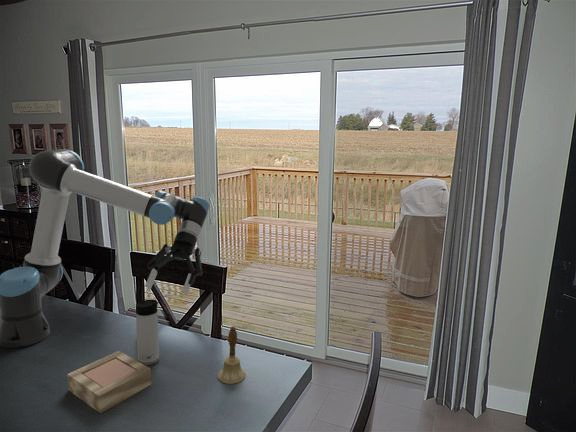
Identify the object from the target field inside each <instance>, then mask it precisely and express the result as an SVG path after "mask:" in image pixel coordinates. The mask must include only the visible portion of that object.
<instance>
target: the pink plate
mask: <svg viewBox="0 0 576 432" xmlns="http://www.w3.org/2000/svg"><path fill="white" fill-rule="evenodd" d="M134 371H136V370H135V369H133V368H131V367H129V366H128V365H126V364H124V363H123V362H121V361H119V360H117V359H114V360H111V361H109V362H107V363H105V364H103V365H101V366H99V367H97V368H95V369H92V370H90V371H88V372H86V373H84V374H83V375H85V376H86V377H88V378H89V379H91V380H92V381H94V382H95V383H97V384H98V385H100V386H101V387H105V386H107V385H109V384H111V383H113V382H115V381H117V380H119V379H121V378H123V377H124V376H126V375H128V374H130V373H132V372H134Z"/></svg>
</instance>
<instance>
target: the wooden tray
mask: <svg viewBox="0 0 576 432" xmlns="http://www.w3.org/2000/svg"><path fill="white" fill-rule="evenodd" d="M114 359H117V360H119V361H121V362H123V363H124V364H126V365H128V366H129V367H131V368H133V369H135V370H136V371H134V372H132V373H130V374H128V375H126V376H124V377H123V378H121V379H119V380H117V381H115V382H113V383H111V384H109V385H107V386H105V387H101V386H100V385H98V384H97V383H95V382H94V381H92V380H91V379H89V378H88V377H86V376H85V375H83V374H84V373H86V372H88V371H90V370H92V369H95V368H97V367H99V366H101V365H103V364H105V363H107V362H109V361H111V360H114ZM67 385H68V391H69V392H70V393H72V394H73V395H75V396H76V397H77V398H78V399H80V400H82V401H83V402H84V403H85V404H87V405H88V406H89V407H91V408H92V409H93V410H95V411H96V412H97V413H99V414H100V415H101V414H102V413H104V412H106V411H108V410H109V409H111V408H113V407H115V406H116V405H118V404H120V403H122V402H124V401H125V400H127V399H128V398H130V397H133V395H135V394H138V393H139V392H141V391H143V390H144V389H146V388H147V387H149V386H151V385H152V368H150V367H149V366H145V365H143V364H142V363H140V362H138V360H136V359H134V358H133V357H131V356H129V355H127V354H126V353H123V352H122V351H120V350H117V351H115V352H113V353H111V354H108V355H106V356H104V357H101V358H100V359H97V360H95V361H93V362H91V363H89V364H87V365H85V366H82V367H80V368H78V369H76V370H74V371H71V372H69V373H67Z"/></svg>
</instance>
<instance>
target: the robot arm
mask: <svg viewBox="0 0 576 432" xmlns="http://www.w3.org/2000/svg"><path fill="white" fill-rule="evenodd" d="M28 170H29V174H30V176H31V178H32V179H33V180H34V181H35V182H36V183H37V184H38V186H39V188H41V195H40V200H39V206H38V211H37V218H36V223H35V228H34V232H33V239H32V243H31V244H32V245H31V250H30V252H29V253H27V254H26V255H25V256H24V259H23V264H22V266H19V267H14V268H12V269H8V270H5V271H4V272H3V273H1V274H0V318H1V320H0V347H2V348H6V349H17V348H25V347H28V346H32V345H35V344H37V343H40V342H41V341H43V340H45V339H46V338H47V337H48V336H50V333H51V331H50V324H49V322H48V321H47V319H46V316H45V315H44V313H43V306H42V297H44V296H45V295H46V294H47V293H49V292H50V291H52V290H53V289H54V288H55V287H57V285H59V282H60V281H61V280H62V278H63V276H64V275H63V274H64V269H63V266H62V265H61V264H62V259H61V257H60V256H59V249H60V246H61V245H60V244H61V239H62V235H63V230H64V224H65V220H66V215H67V211H68V205H69V200H70V195H72V193H74V194H77V195H79V196H83V197H86V198H87V199H88V198H89V199H92V200H94V201H98V202H100V203H103V204H107V205H110V206H112V207H115V208H119V209H122V210H125V211H127V212H131V213H133V214H136V215H140V216H143V217H146V218H148V219H150V220H151V221H152V222H153V223H154V224H156V225H161V226H162V225H166V224H168V223H169V222H171V221H172V220H173V218H177V219H179V220H182V221H181V223H180V225H179V228H178V229H177V233H176V235H175V237H174V240H173V244H172V245H171V246H170V245H168V244H167V243H164V244H163V246H162V247H161V249H160V250H159V251H158V252H157V253H156V254H155V255H154V256H153V257H152V258H151V259H150V260H149V261H148V262H147V263H146V266H147V268H148V269H149V271H148V273H147V276H146V277H147V281H146V283H145V286H144V287H146V289H148V290H151V289H152V287H153V285H154V282H155V279H156V277H157V275H158V270H159V269H161V268H162V267H164V266H165V265H166V264H168V263H169V262H171V261H174V260H177V261H178V260H180V261H182V262H183V261H185V262H186V264H187V265H188V268H189V271H190V273H189V272H188V274H187V277H186V280H185V283H184V285H183V287H182V291H181V292H182V293H183V295H187V296H188V294H189V292H190V291H189V290H190V288H191V286H193V285H194V284H195V281H196V278H197V277H198V276H199V277H201V276H203V275H204V274H203V267H202V259H201V256H202V251H201V249H200V248H199V247H195V246H196V245H197V242H198V239H199V236H200V235H201V231H202V228H203V225H204V224H205V221H206V218H207V216H208V213H209V210H210V203H209V202H208V200H207V199H206V198H203V197H202V196H192V198H191V199H190V200H189V199H186V198H183V197H181V196H178V195H175V194H172V193H170V192H167V191H164V190H158V191H157V192H156V194H155V196H154V195H152V194H149V193H147V192H144V191H141V190H138V189H135V188H133V187H129V186H128V185H127V186H126V185H124V184H121V183H119V182H116V181H113V180H110V179H106V178H103V177H102V176H99V175H95V174H92V173H89V172H87V171H85V164H84V161H83V160H82V158H81V156H79V154H78V153H77V152H74V151H72V150H71V149H63V148H58V149H52V150H43V151H41V152H38V153H36V154H35V155H34V156H32V158H31V159H30V161H29V164H28ZM191 255H194V258H195V259H194V261H195V267H196V268H195V267H194V265H193V262H192V259H191Z"/></svg>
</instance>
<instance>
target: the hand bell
mask: <svg viewBox="0 0 576 432" xmlns="http://www.w3.org/2000/svg"><path fill="white" fill-rule="evenodd" d="M227 336H228V338H227V339H228V341H227V342H228V344H229V345H228V346H229V354H228V355H229V356H227V357H226V358H225V359H224V362H223V366H222V369H220V370H219V372H218V374H217V379H218V380H219V381H220V382H221V383H224V384H225V385H226V384H227V385H235V383H236V384H239V383H241V382H242V380H243V379H244V380H245V379H246V376H245V375H246V371H244V369H243V368H242V367H241V361H240V358H239V357H238V356H237V355H236V345H237V341H238V333H237V329H236V327H235V326H231V327H230V330H229V332H228V335H227ZM244 380H243V381H244ZM238 382H239V383H238Z"/></svg>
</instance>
